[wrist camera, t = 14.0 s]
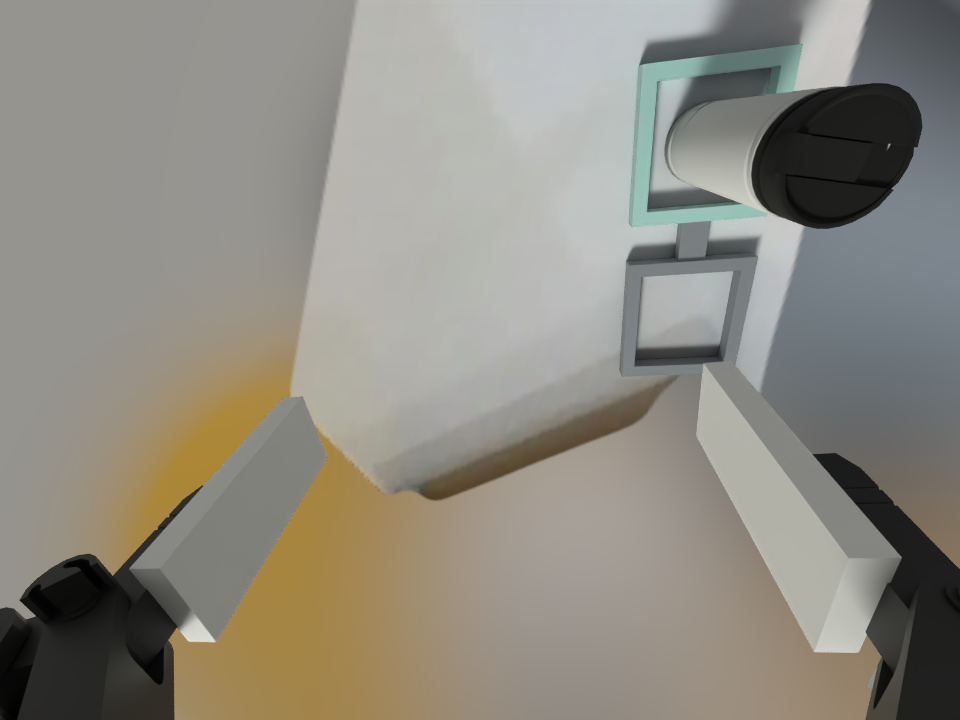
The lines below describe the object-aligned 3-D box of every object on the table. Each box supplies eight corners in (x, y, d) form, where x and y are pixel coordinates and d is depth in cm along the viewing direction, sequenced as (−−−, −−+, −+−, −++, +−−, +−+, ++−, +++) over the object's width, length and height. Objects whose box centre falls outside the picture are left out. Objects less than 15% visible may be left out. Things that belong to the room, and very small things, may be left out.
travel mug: (673, 96, 35) (814, 70, 18) (754, 106, 35) (976, 90, 18) (650, 177, 38) (751, 222, 21) (724, 187, 38) (888, 241, 21)
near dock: (638, 66, 35) (642, 64, 33) (791, 46, 33) (802, 43, 32) (628, 223, 40) (631, 227, 39) (758, 213, 39) (766, 216, 38)
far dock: (628, 223, 40) (631, 227, 39) (758, 213, 39) (766, 216, 38) (619, 369, 48) (622, 376, 47) (727, 365, 46) (733, 372, 45)
